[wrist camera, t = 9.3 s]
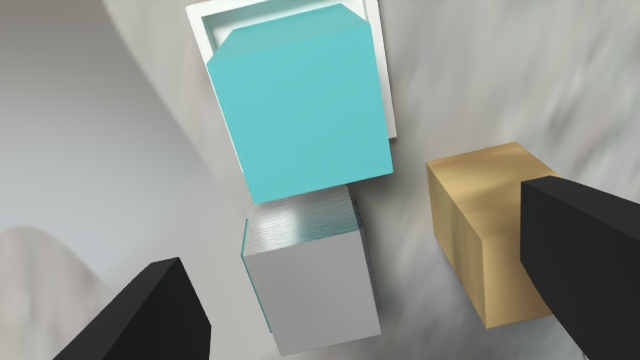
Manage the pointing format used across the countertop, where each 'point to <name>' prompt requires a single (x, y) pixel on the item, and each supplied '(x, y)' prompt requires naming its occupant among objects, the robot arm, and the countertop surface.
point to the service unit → (311, 269)
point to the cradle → (271, 3)
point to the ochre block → (487, 228)
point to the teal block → (303, 102)
